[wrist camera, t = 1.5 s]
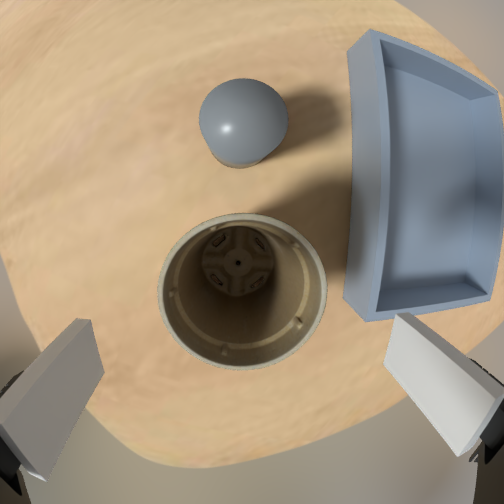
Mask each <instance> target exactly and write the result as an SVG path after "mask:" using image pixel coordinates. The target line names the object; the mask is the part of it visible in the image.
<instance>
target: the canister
mask: <svg viewBox="0 0 504 504" xmlns="http://www.w3.org/2000/svg"><path fill="white" fill-rule="evenodd" d="M199 125H200V129H201V132H202V135H203V137H204V139H205V141H206V143H207V145H208V147H209V148H210V150H211V152H212V154H213V155H214V157H215V158H216V159H217V160H218V161H219V162H220V163H222V164H223V165H225V166H228V167H231V168H237V169H242V168H248V167H251V166H253V165H255V164H257V163H258V162H260V161H261V160H262V159H263V158H264V157H266V156H267V155H268V154H269V153H270V152H272V151H273V150H274V149H275V148H276V147H277V146H278V145H279V144H280V143H281V141H282V140H283V138H284V136H285V134H286V131H287V128H288V112H287V108H286V105H285V103H284V101H283V99H282V98H281V96H280V95H279V94H278V93H277V92H276V91H275V90H274V89H273V88H272V87H270V86H268V85H267V84H265V83H263V82H260V81H257V80H253V79H245V78H244V79H234V80H230V81H227V82H224V83H222V84H220V85H219V86H217V87H216V88H214V89H213V90H212V91H211V92H210V93H209V94H208V95H207V97H206V98H205V100H204V102H203V104H202V106H201V109H200V114H199Z"/></svg>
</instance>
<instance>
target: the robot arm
mask: <svg viewBox="0 0 504 504" xmlns="http://www.w3.org/2000/svg"><path fill="white" fill-rule="evenodd" d="M383 365H384V366H385V367H386V368H387V369H388V371H389V372H390V373H391V374H392V375H393V377H394V378H395V379H396V380H397V382H398V383H399V384H400V385H401V386H402V388H403V389H404V390H405V391H406V392H407V394H408V395H409V396H410V397H411V399H412V400H413V401H414V402H415V404H416V405H417V406H418V407H419V408H420V410H421V411H422V412H423V413H424V415H425V416H426V417H427V418H428V420H429V421H430V422H431V423H432V425H433V426H434V427H435V429H436V430H437V431H438V432H439V434H440V435H441V436H442V437H443V439H444V440H445V441H446V442H447V444H448V445H449V446H450V448H451V449H452V450H453V452H454V453H455V454H456V456H460V455H461V454H463V453H465V452H466V451H468V450H469V449H471V448H472V447H473V445H474V444H475V442H476V441H477V439H478V438H479V437H480V438H481V439H482V442H481V444H480V445H479V446H478V448H477V449H476V450H475V452H474V453H473V454H472V456H471V457H470V459H469V462H471V461H472V460H473V459H474V457H475V456H476V455H477V454H478V457H477V458H476V459H475V461H474V462H478V470H477V479H476V488H475V495H474V501H473V504H504V385H503V384H502V383H501V382H500V381H499V380H497V379H496V378H495V377H494V376H493V375H492V374H489V373H488V371H487V370H485V369H484V368H483V369H482V366H481V365H479V364H478V363H477V362H476V361H474V360H472V359H470V358H468V357H466V356H465V355H464V354H463V353H461V352H460V351H459V350H458V349H456V348H455V347H454V346H453V345H451V344H450V343H449V342H447V341H446V340H445V339H444V338H442V337H441V336H440V335H438V334H437V333H436V332H434V331H433V330H432V329H431V328H429V327H428V326H427V325H425V324H424V323H423V322H421V321H420V320H419V319H417V318H416V317H415V316H413V315H412V314H411V313H409V312H405V313H398V314H396V315H395V319H394V324H393V328H392V332H391V337H390V341H389V345H388V348H387V352H386V356H385V360H384V363H383ZM104 373H105V372H104V369H103V365H102V362H101V359H100V355H99V351H98V348H97V344H96V340H95V336H94V332H93V328H92V323H91V320H88V319H78V318H76V319H75V320H74V321H73V322H72V323H71V324H70V325H69V326H68V327H67V328H66V329H65V330H64V331H63V332H62V333H61V334H60V335H59V336H58V337H57V338H56V339H55V340H54V341H53V342H52V343H51V344H50V345H49V346H48V347H47V348H46V349H45V350H44V351H43V352H42V353H41V354H40V355H39V356H38V357H37V358H36V359H35V360H34V361H33V362H32V364H31V365H30V366H29V367H28V368H27V369H26V370H25V371H22V372H20V373H19V374H17V375H15V376H14V377H13V378H12V379H11V380H10V381H9V382H8V383H7V384H6V387H4V388H3V389H2V390H1V393H0V504H31V501H30V499H29V495H28V493H27V489H26V486H25V482H24V479H23V475H22V473H21V471H20V470H19V469H18V468H19V467H20V465H21V464H22V465H23V466H24V468H25V469H26V470H27V471H28V472H29V473H30V474H32V475H33V476H35V477H37V478H40V479H42V480H44V481H46V482H47V481H48V479H49V477H50V474H51V472H52V470H53V468H54V466H55V464H56V462H57V459H58V457H59V455H60V453H61V451H62V449H63V447H64V445H65V443H66V441H67V439H68V437H69V435H70V434H71V431H72V430H73V428H74V426H75V424H76V422H77V420H78V419H79V416H80V415H81V413H82V411H83V409H84V408H85V406H86V404H87V402H88V400H89V399H90V397H91V395H92V393H93V392H94V390H95V388H96V386H97V385H98V383H99V381H100V380H101V378H102V376H103V374H104Z"/></svg>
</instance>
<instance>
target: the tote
mask: <svg viewBox="0 0 504 504" xmlns="http://www.w3.org/2000/svg"><path fill="white" fill-rule="evenodd" d="M347 58H348V68H349V80H350V94H351V113H352V198H351V218H350V233H349V245H348V256H347V266H346V276H345V284H344V292H343V299H344V300H345V301H346V302H347V303H348V304H349V305H350V306H351V307H352V308H353V310H354V311H355V312H356V313H357V314H358V315H359V316H360V317H361V318H362V319H363V320H364V321H365V322H370V321H379V320H386V319H394V318H395V315H396V314H398V313H405V312H409V313H411V314H412V315H413V316H414V315H420V314H427V313H432V312H438V311H443V310H449V309H454V308H459V307H464V306H469V305H473V304H478V303H482V302H486V301H490V299H491V295H492V291H493V287H494V282H495V278H496V273H497V268H498V262H499V257H500V251H501V244H502V236H503V228H504V130H503V121H502V114H501V107H500V102H499V96H498V91H497V90H496V89H494V88H493V87H491V86H490V85H488V84H487V83H485V82H484V81H482V80H480V79H479V78H477V77H476V76H474V75H472V74H471V73H469V72H467V71H466V70H464V69H462V68H460V67H458V66H457V65H455V64H453V63H451V62H449V61H447V60H445V59H443V58H441V57H439V56H437V55H435V54H433V53H431V52H429V51H427V50H424V49H422V48H420V47H418V46H415V45H413V44H410V43H408V42H405V41H403V40H400V39H398V38H395V37H392V36H389V35H387V34H384V33H381V32H378V31H375V30H371V29H369V30H368V31H367V32H366V33H365V34H364V35H363V36H362V37H361V38H360V39H359V40H358V41H357V42H356V43H355V44H354V45H353V46H352V47H351V48H350V49H349V50H348V51H347Z"/></svg>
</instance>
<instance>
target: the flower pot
mask: <svg viewBox="0 0 504 504" xmlns="http://www.w3.org/2000/svg"><path fill="white" fill-rule="evenodd" d="M222 235H224V236H225V237H226V238H225V240H224V241H222V242H221V243H220V244H219V245H218V246H217V247H215V246H214V245H213V241H214V240H216V239H217V238H219V237H220V236H222ZM256 238H258V239H259V240H260V241H261V243H262V244H263V245H264V249H262V248H261V247H260V246H259V245H258V244H257V242H256V241H255V239H256ZM236 261H240V262H241V264H240V265H236ZM211 274H215V275H216V276H217V278H218V279H219V280H220V281H221V282H222V283H223V284H222V285H220V284H218V283H216V282H215V281H214V280H213V279H212V278H211ZM260 277H263V278H264V279H263V281H262V283H260V284H259V285H258V286H257V287H251V285H253V284H254V283H255V282H256V281H257V280H259V279H260ZM157 292H158V305H159V310H160V313H161V316H162V319H163V322H164V324H165V326H166V328H167V330H168V331H169V332H170V334H171V335H172V337H173V338H174V340H175V341H176V342H177V343H178V344H179V345H180V346H181V347H182V348H183V349H184V350H186V351H187V352H188V353H190V354H191V355H192V356H194V357H196V358H197V359H199V360H201V361H203V362H205V363H207V364H210V365H212V366H215V367H219V368H224V369H230V370H253V369H261V368H264V367H267V366H270V365H273V364H276V363H278V362H280V361H282V360H284V359H285V358H287V357H289V356H290V355H292V354H294V352H296V351H297V350H298V349H299V348H300V347H302V346H303V345H304V344H305V343H306V341H307V340H308V339H309V338H310V337H311V336H312V334H313V332H314V331H315V330H316V328H317V326H318V324H319V322H320V320H321V318H322V315H323V313H324V309H325V305H326V299H327V280H326V274H325V271H324V267H323V264H322V262H321V260H320V258H319V256H318V254H317V252H316V250H315V249H314V248H313V246H312V245H311V244H310V242H309V241H308V240H307V239H306V238H305V237H304V236H303V235H301V234H300V233H299V232H298V231H297V230H295V229H294V228H293V227H291V226H290V225H288V224H286V223H284V222H282V221H280V220H277V219H275V218H272V217H269V216H265V215H260V214H253V213H235V214H228V215H223V216H219V217H216V218H213V219H210V220H208V221H206V222H203V223H201V224H199V225H198V226H196V227H195V228H193V229H192V230H190V231H189V232H188V233H186V234H185V235H184V236H183V237H182V238H181V239H180V240H179V241H178V242H177V243H176V244H175V245H174V247H173V248H172V249H171V251H170V252H169V254H168V256H167V257H166V259H165V262H164V264H163V266H162V269H161V272H160V276H159V281H158V288H157Z"/></svg>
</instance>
